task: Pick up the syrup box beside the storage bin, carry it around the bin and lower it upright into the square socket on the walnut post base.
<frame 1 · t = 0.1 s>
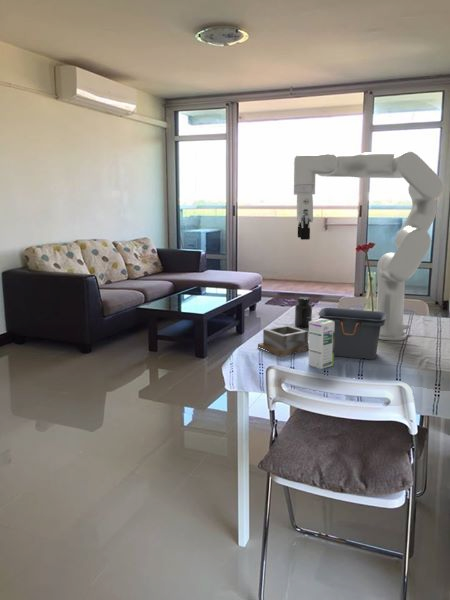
hand: (303, 238, 181), 37 cm above the table, tool pointing down, fingers open, 9 cm apart
syrup box: (320, 366, 157), on the table
storage bin: (350, 356, 166), on the table
supplement bottle: (303, 327, 204), on the table
post base: (285, 348, 175), on the table
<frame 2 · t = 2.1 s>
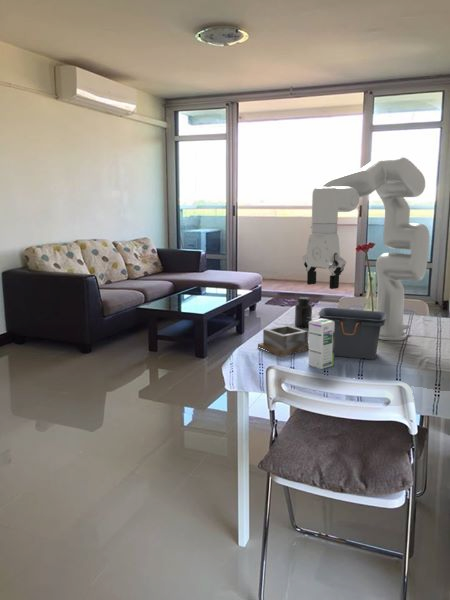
hand: (322, 286, 151), 25 cm above the table, tool pointing down, fingers open, 9 cm apart
nothing on the table moved.
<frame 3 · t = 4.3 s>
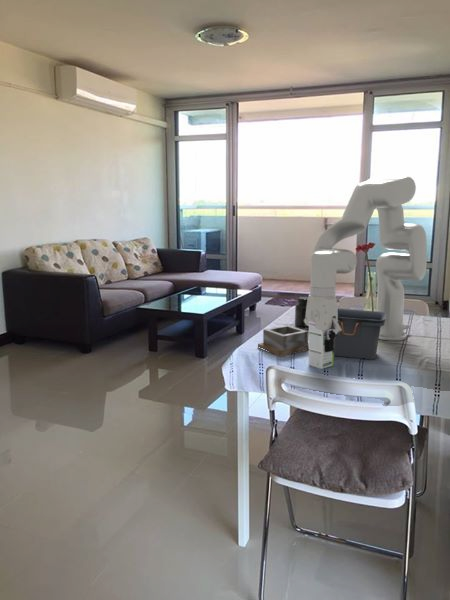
hand: (321, 348, 155), 6 cm above the table, tool pointing down, fingers closed on syrup box, 6 cm apart
syrup box: (320, 365, 157), on the table, touching gripper
everything else where it was.
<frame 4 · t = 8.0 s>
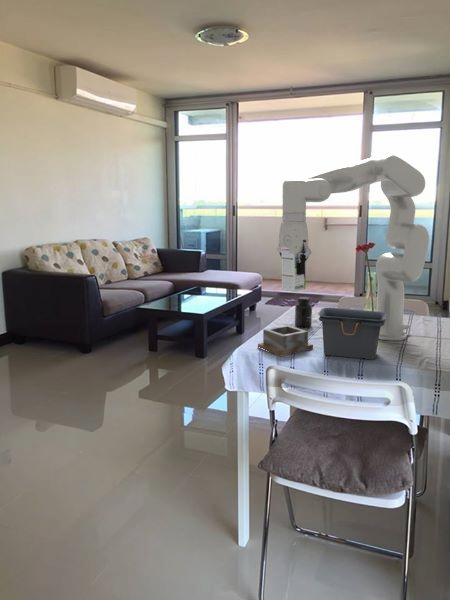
hand: (293, 272, 165), 27 cm above the table, tool pointing down, fingers closed on syrup box, 6 cm apart
syrup box: (293, 290, 167), point 21 cm above the table, touching gripper
everything else where it was.
when the fingers open (9 cm above the table, at t = 11.6 s): syrup box drops 2 cm, resting on post base.
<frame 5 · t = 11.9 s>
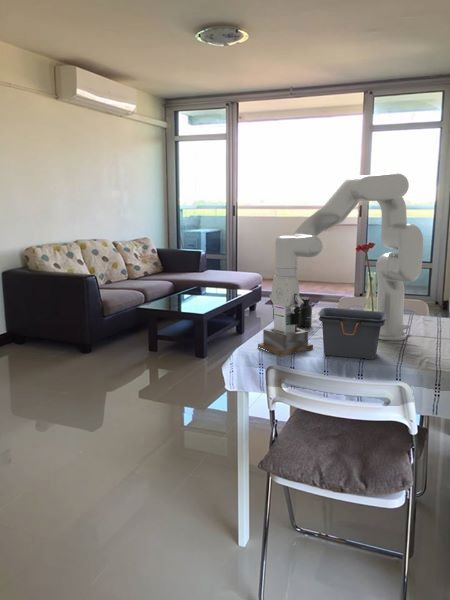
hand: (285, 321, 173), 10 cm above the table, tool pointing down, fingers open, 9 cm apart
syrup box: (285, 344, 175), point 1 cm above the table, touching post base
everything else where it was.
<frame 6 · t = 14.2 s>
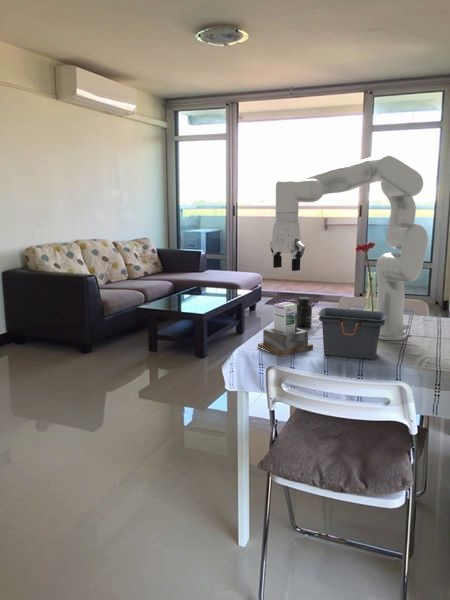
hand: (286, 269, 169), 28 cm above the table, tool pointing down, fingers open, 9 cm apart
nothing on the table moved.
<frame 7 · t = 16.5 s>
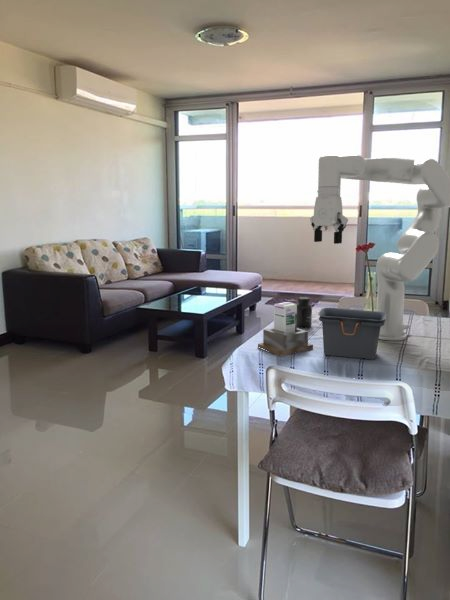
hand: (327, 242, 174), 36 cm above the table, tool pointing down, fingers open, 9 cm apart
nothing on the table moved.
at the end: syrup box 0.4 cm off-centre on the post base, point 1.3 cm above the post base's base; syrup box tilted 0°; the gripper is holding nothing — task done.
